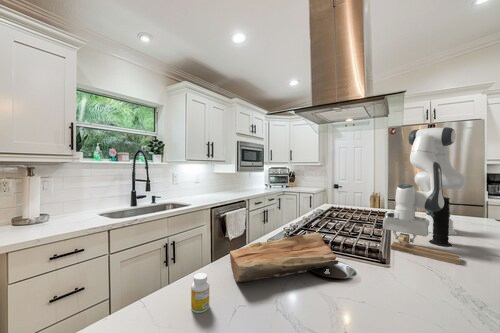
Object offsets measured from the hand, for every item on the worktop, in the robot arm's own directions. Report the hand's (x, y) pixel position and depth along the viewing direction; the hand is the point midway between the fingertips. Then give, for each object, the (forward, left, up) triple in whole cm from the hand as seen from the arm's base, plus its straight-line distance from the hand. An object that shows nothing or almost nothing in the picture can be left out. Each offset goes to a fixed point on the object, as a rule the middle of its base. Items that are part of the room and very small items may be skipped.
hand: (404, 240), depth 123 cm
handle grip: (-18, +14, -3) cm, 23 cm away
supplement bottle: (+106, -35, -3) cm, 112 cm away
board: (+7, +9, -3) cm, 12 cm away
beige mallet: (+4, 0, -3) cm, 5 cm away
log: (+70, -29, -3) cm, 76 cm away
